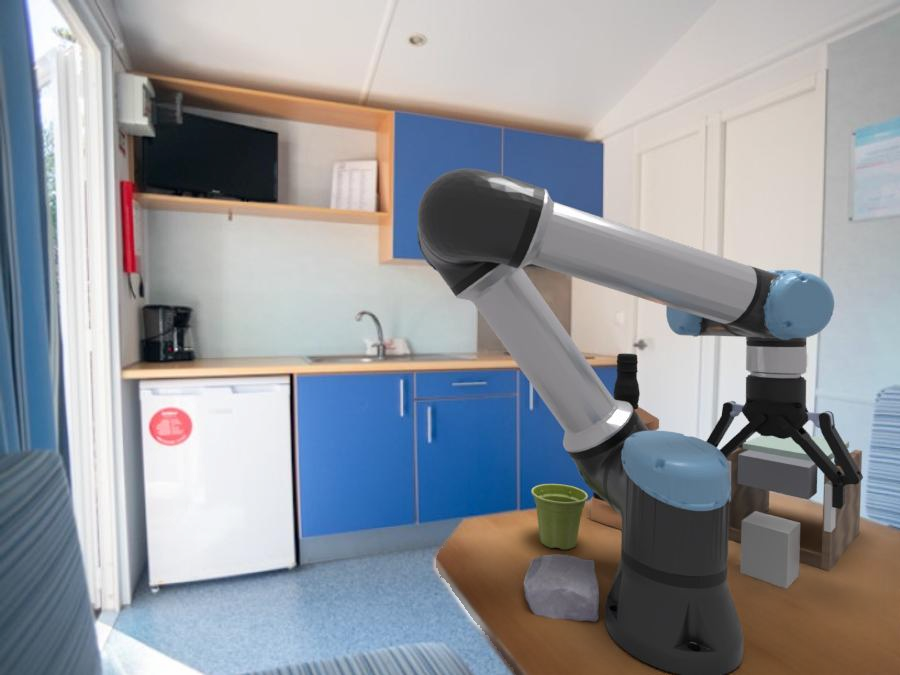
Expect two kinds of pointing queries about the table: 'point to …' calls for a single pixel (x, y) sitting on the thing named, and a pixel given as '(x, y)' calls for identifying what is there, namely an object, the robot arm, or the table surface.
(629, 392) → the whiskey bottle
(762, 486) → the trapdoor
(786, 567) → the grey stone block
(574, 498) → the plant pot
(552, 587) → the stone block
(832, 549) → the trapdoor stand
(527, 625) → the table surface
